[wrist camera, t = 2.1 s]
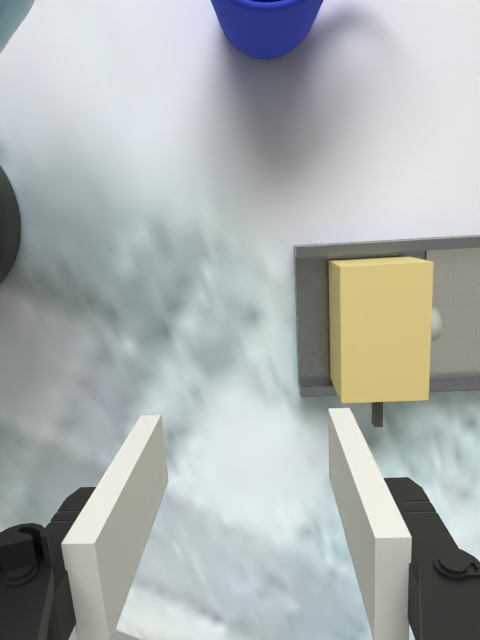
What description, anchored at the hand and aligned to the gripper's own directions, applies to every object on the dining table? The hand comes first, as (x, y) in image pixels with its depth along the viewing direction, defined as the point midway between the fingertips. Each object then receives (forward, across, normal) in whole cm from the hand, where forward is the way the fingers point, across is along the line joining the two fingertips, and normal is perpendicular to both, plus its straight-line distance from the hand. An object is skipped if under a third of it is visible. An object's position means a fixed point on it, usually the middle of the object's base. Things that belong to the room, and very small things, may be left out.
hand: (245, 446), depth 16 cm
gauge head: (+19, +10, -1) cm, 22 cm away
